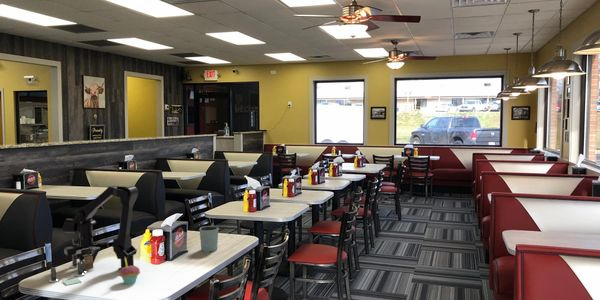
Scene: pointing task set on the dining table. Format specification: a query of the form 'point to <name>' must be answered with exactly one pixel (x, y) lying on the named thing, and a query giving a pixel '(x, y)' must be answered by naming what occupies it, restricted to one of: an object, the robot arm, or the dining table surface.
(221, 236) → the dining table surface
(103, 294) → the dining table surface
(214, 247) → the grey plant pot
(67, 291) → the dining table surface
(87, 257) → the walnut block
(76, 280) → the coaster
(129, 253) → the robot arm
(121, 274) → the cupcake
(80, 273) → the post course
